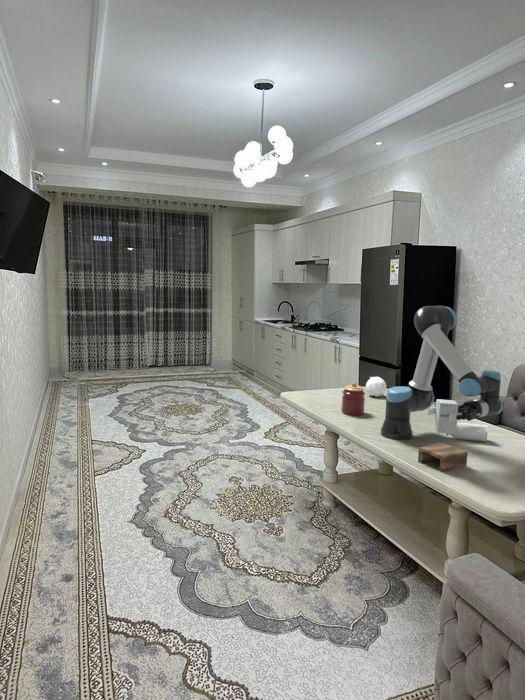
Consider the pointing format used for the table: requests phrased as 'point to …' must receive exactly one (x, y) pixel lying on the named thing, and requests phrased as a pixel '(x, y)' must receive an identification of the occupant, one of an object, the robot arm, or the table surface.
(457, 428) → the white bottle
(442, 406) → the supplement box
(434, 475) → the table surface
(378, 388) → the geodesic sphere
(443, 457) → the shelf
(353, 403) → the canister
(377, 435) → the table surface
